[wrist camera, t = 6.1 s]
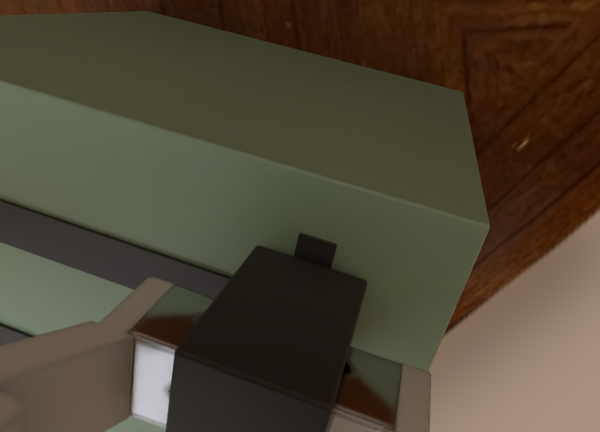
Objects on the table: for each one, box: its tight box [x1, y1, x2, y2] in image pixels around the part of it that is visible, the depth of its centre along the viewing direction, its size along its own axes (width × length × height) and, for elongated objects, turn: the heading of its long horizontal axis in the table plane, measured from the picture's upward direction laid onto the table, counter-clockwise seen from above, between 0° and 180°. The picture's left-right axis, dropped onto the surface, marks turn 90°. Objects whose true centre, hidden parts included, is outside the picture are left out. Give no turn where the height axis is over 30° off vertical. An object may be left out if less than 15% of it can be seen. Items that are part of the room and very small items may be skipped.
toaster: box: [0, 11, 490, 432], centre depth 19 cm, size 16×11×15 cm
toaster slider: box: [166, 245, 367, 432], centre depth 9 cm, size 2×2×4 cm
